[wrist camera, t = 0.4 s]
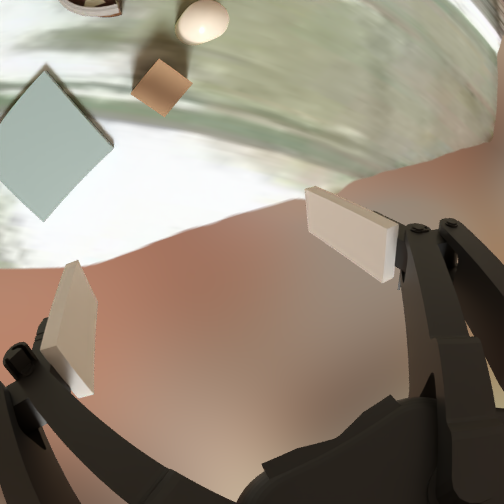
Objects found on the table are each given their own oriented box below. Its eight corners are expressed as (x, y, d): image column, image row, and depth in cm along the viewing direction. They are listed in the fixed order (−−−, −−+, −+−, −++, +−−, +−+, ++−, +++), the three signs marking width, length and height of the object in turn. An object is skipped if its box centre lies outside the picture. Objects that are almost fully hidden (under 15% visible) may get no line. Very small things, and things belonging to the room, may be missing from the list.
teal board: (46, 70, 24) (44, 70, 23) (114, 147, 34) (113, 148, 33) (-20, 154, 25) (-23, 156, 24) (45, 219, 35) (43, 222, 34)
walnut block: (157, 60, 29) (159, 58, 26) (186, 81, 32) (192, 83, 29) (132, 91, 31) (130, 94, 27) (161, 111, 34) (164, 117, 30)
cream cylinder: (200, 4, 26) (213, -8, 21) (221, 32, 30) (237, 26, 24) (167, 24, 27) (172, 14, 22) (188, 52, 30) (198, 48, 25)
